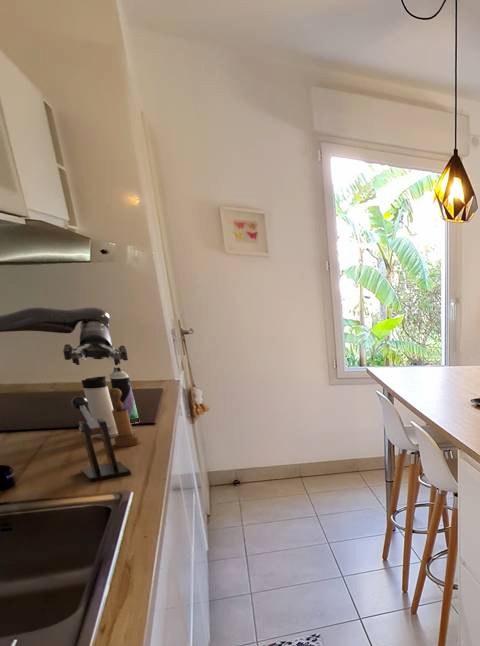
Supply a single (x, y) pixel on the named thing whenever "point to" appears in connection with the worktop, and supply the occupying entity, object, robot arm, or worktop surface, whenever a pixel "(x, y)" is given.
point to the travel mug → (100, 403)
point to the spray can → (124, 391)
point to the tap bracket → (95, 470)
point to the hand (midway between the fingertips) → (96, 361)
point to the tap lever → (86, 414)
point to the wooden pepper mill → (122, 422)
